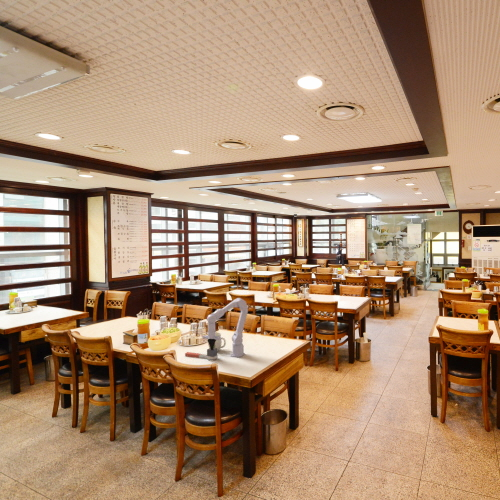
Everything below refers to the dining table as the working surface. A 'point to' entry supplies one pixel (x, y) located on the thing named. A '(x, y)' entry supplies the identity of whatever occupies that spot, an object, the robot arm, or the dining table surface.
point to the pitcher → (218, 342)
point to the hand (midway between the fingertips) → (212, 348)
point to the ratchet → (201, 356)
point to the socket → (212, 352)
